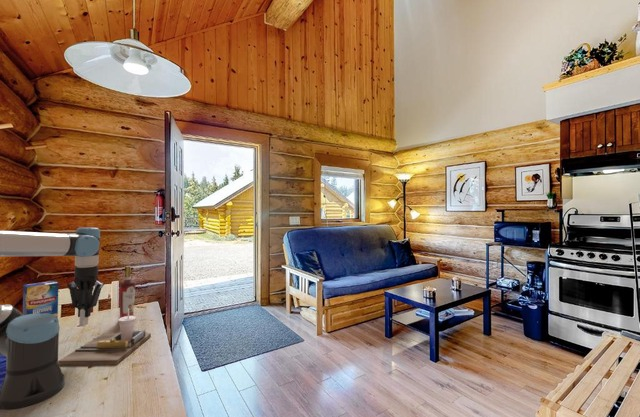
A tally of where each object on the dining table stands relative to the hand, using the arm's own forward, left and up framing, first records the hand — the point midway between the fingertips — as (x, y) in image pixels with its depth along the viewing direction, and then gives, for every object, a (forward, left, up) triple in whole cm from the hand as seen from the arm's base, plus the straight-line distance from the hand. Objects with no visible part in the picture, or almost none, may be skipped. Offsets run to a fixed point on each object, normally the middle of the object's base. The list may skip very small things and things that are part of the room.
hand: (83, 325), depth 117 cm
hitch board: (+4, -8, -11) cm, 14 cm away
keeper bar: (+1, -11, -10) cm, 15 cm away
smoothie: (+8, -12, -10) cm, 18 cm away
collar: (+9, -12, -10) cm, 18 cm away
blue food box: (+24, +37, -12) cm, 45 cm away
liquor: (+37, +5, -12) cm, 39 cm away
